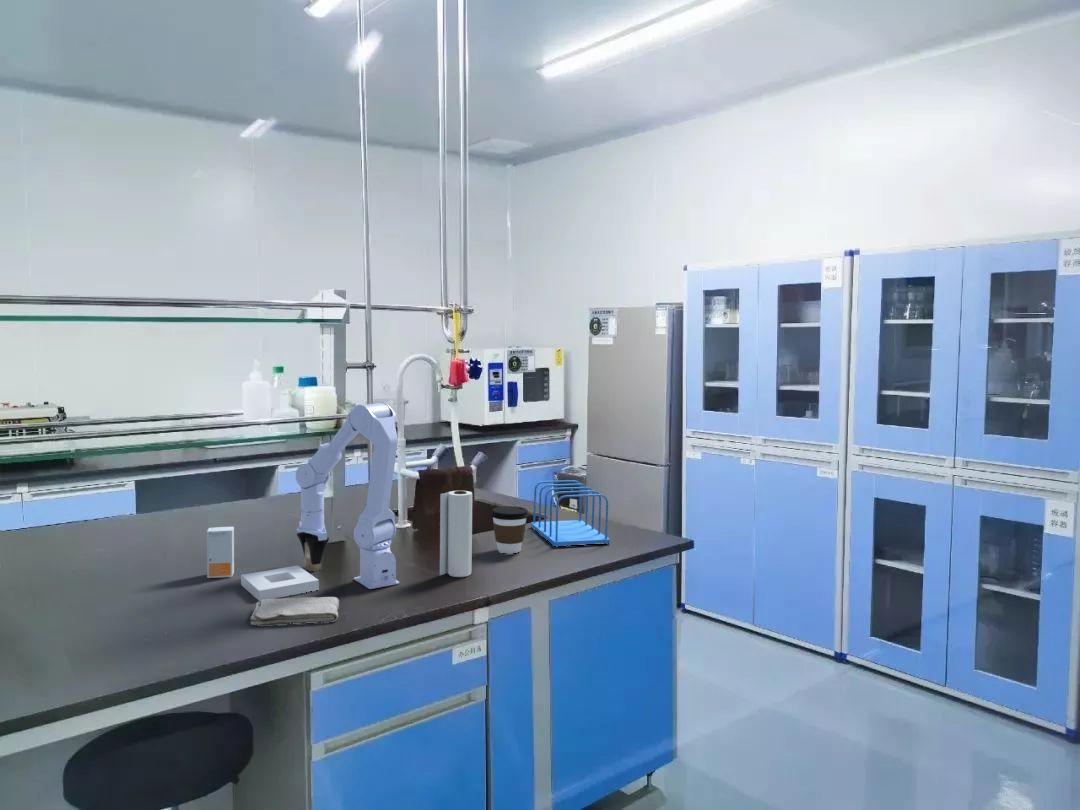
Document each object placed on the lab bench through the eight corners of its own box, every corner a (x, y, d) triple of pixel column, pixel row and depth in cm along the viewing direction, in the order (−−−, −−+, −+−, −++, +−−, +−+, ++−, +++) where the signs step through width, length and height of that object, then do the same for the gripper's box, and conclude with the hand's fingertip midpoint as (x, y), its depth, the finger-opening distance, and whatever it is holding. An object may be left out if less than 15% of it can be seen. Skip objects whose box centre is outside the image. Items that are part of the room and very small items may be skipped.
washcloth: (256, 609, 176) (256, 596, 176) (339, 605, 180) (339, 592, 180) (249, 629, 165) (248, 615, 164) (338, 624, 169) (338, 610, 168)
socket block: (318, 590, 189) (318, 580, 188) (259, 601, 180) (259, 590, 180) (298, 575, 200) (298, 565, 199) (241, 584, 191) (240, 574, 191)
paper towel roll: (474, 572, 205) (475, 490, 203) (466, 578, 199) (467, 495, 197) (448, 569, 207) (449, 488, 205) (439, 576, 201) (440, 493, 199)
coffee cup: (515, 544, 232) (516, 504, 231) (535, 553, 223) (536, 511, 222) (483, 549, 227) (483, 508, 225) (502, 558, 217) (502, 516, 216)
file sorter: (610, 545, 234) (611, 494, 233) (554, 549, 229) (555, 496, 228) (581, 525, 258) (582, 478, 256) (530, 528, 253) (531, 480, 251)
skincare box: (206, 579, 195) (205, 531, 194) (209, 573, 199) (208, 527, 198) (233, 577, 197) (232, 530, 196) (234, 572, 201) (234, 526, 200)
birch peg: (323, 569, 205) (323, 543, 204) (308, 572, 202) (308, 545, 202) (317, 565, 208) (317, 539, 207) (302, 568, 205) (302, 541, 205)
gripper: (287, 506, 207) (287, 557, 208) (307, 517, 195) (308, 571, 197) (313, 503, 211) (313, 553, 213) (334, 514, 200) (335, 566, 201)
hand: (312, 561), depth 205 cm, fingers closed on birch peg, 4 cm apart
